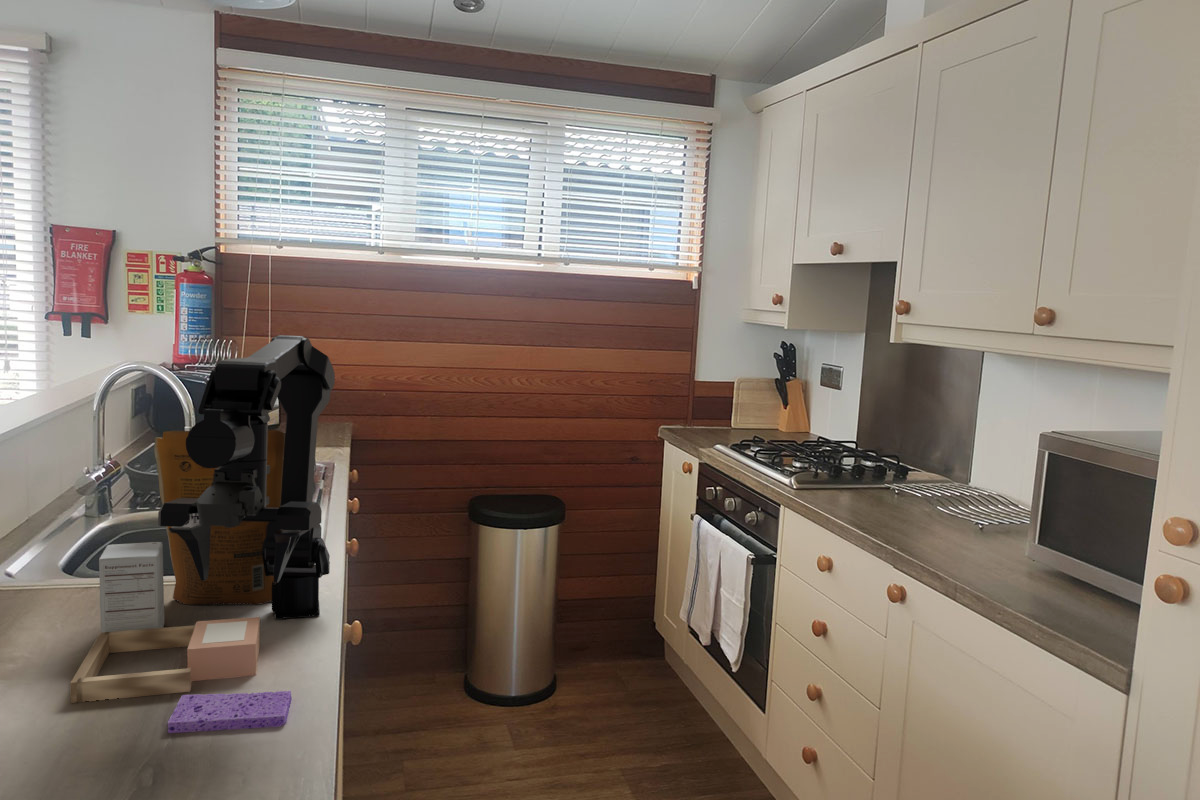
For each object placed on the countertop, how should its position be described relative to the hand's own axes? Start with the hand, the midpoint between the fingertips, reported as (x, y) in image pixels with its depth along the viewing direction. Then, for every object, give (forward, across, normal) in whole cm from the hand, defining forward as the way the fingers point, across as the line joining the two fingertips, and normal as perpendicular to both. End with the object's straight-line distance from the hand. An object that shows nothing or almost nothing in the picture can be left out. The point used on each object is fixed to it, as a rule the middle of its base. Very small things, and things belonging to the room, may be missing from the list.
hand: (240, 581), depth 110 cm
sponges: (+14, +3, -10) cm, 18 cm away
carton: (+12, -3, +4) cm, 14 cm away
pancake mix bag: (+11, -13, +28) cm, 32 cm away
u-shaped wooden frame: (+12, -12, +1) cm, 18 cm away
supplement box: (+12, -20, +13) cm, 26 cm away
